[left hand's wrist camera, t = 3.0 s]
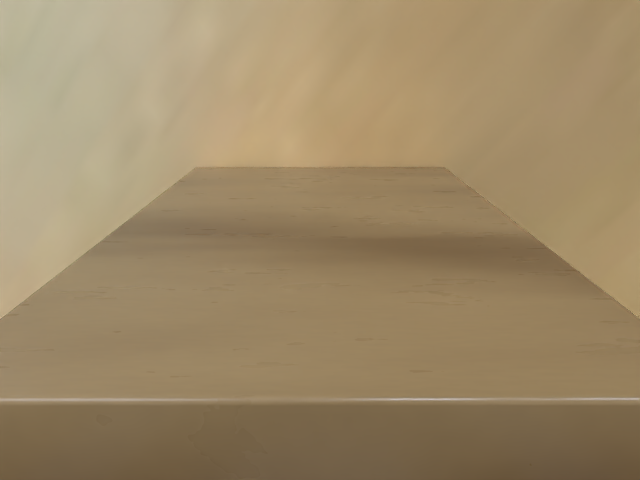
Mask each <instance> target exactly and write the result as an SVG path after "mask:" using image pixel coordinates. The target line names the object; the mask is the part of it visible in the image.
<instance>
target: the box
mask: <svg viewBox="0 0 640 480" xmlns="http://www.w3.org/2000/svg"><path fill="white" fill-rule="evenodd" d="M0 480H640V319H639V318H638V317H637V316H635V315H634V314H633V313H631V312H630V311H629V310H628V309H626V308H625V307H624V306H622V305H621V304H620V303H618V302H617V301H616V300H615V299H613V298H612V297H611V296H609V295H608V294H607V293H606V292H604V291H603V290H602V289H600V288H599V287H598V286H597V285H595V284H594V283H593V282H591V281H590V280H589V279H588V278H586V277H585V276H584V275H582V274H581V273H580V272H579V271H577V270H576V269H575V268H573V267H572V266H571V265H569V264H568V263H567V262H566V261H564V260H563V259H562V258H560V257H559V256H558V255H557V254H555V253H554V252H553V251H551V250H550V249H549V248H548V247H546V246H545V245H544V244H542V243H541V242H540V241H539V240H537V239H536V238H535V237H533V236H532V235H531V234H530V233H528V232H527V231H526V230H524V229H523V228H522V227H520V226H519V225H518V224H517V223H515V222H514V221H513V220H511V219H510V218H509V217H508V216H506V215H505V214H504V213H502V212H501V211H500V210H499V209H497V208H496V207H495V206H493V205H492V204H491V203H490V202H488V201H487V200H486V199H484V198H483V197H482V196H481V195H479V194H478V193H477V192H475V191H474V190H473V189H471V188H470V187H469V186H468V185H466V184H465V183H464V182H462V181H461V180H460V179H459V178H457V177H456V176H455V175H453V174H452V173H451V172H450V171H448V170H447V169H446V168H195V169H193V170H192V171H191V172H189V173H188V174H187V175H186V176H184V177H183V178H182V179H180V180H179V181H178V182H177V183H175V184H174V185H173V186H171V187H170V188H169V189H168V190H166V191H165V192H164V193H162V194H161V195H160V196H159V197H157V198H156V199H155V200H153V201H152V202H151V203H149V204H148V205H147V206H146V207H144V208H143V209H142V210H140V211H139V212H138V213H137V214H135V215H134V216H133V217H131V218H130V219H129V220H128V221H126V222H125V223H124V224H122V225H121V226H120V227H119V228H117V229H116V230H115V231H113V232H112V233H111V234H110V235H108V236H107V237H106V238H104V239H103V240H102V241H101V242H99V243H98V244H97V245H95V246H94V247H93V248H92V249H90V250H89V251H88V252H86V253H85V254H84V255H83V256H81V257H80V258H79V259H77V260H76V261H75V262H74V263H72V264H71V265H70V266H68V267H67V268H66V269H64V270H63V271H62V272H61V273H59V274H58V275H57V276H55V277H54V278H53V279H52V280H50V281H49V282H48V283H46V284H45V285H44V286H43V287H41V288H40V289H39V290H37V291H36V292H35V293H34V294H32V295H31V296H30V297H28V298H27V299H26V300H25V301H23V302H22V303H21V304H19V305H18V306H17V307H16V308H14V309H13V310H12V311H10V312H9V313H8V314H7V315H5V316H4V317H3V318H1V319H0Z"/></svg>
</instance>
